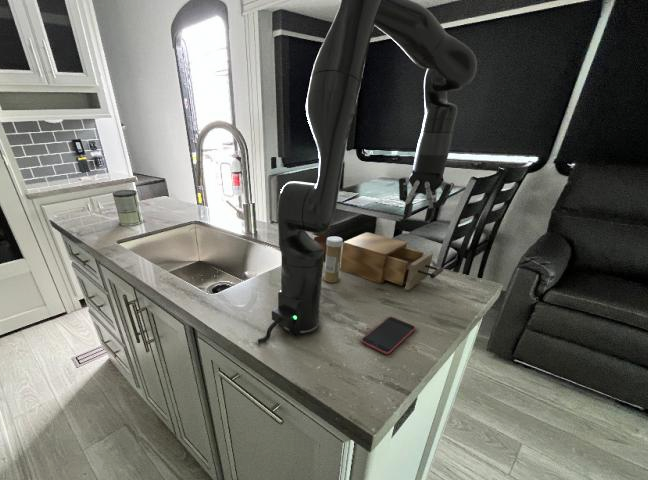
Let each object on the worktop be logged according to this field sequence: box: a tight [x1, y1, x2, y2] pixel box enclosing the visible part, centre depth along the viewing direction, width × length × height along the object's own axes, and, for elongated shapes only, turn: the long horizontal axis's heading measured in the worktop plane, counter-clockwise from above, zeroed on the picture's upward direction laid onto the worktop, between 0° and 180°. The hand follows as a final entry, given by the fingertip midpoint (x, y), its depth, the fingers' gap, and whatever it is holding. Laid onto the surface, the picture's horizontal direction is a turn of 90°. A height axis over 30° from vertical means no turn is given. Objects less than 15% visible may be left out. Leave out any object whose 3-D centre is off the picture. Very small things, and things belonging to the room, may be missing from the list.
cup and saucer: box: [313, 235, 331, 260], centre depth 116 cm, size 12×12×6 cm
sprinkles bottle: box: [323, 236, 344, 283], centre depth 97 cm, size 5×5×14 cm
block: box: [402, 257, 416, 282], centre depth 97 cm, size 5×8×4 cm, turn 135°
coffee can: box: [112, 189, 144, 227], centre depth 150 cm, size 10×10×14 cm
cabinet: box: [339, 231, 408, 285], centre depth 104 cm, size 15×14×10 cm
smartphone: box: [361, 316, 416, 355], centre depth 75 cm, size 7×1×14 cm
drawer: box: [382, 246, 444, 291], centre depth 97 cm, size 18×12×8 cm
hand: (417, 218), depth 89 cm, fingers open, 5 cm apart
